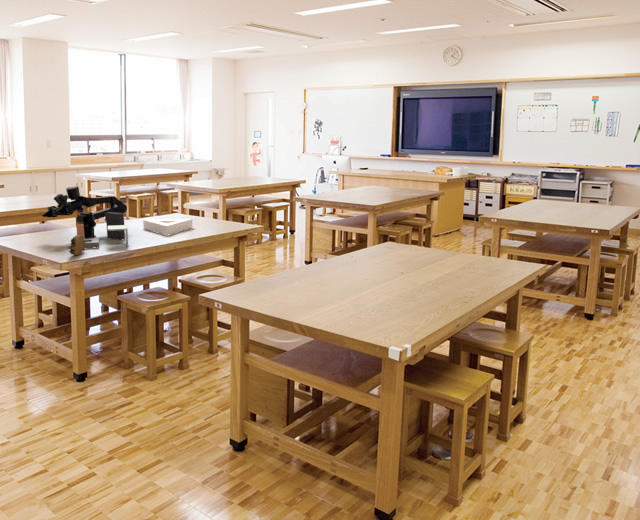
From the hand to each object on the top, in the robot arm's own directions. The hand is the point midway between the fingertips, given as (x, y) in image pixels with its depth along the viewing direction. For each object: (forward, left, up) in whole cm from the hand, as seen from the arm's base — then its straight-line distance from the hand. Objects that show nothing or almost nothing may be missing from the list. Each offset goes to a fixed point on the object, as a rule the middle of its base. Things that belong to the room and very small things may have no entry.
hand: (47, 215), depth 339 cm
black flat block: (-32, +15, -16) cm, 39 cm away
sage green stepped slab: (-22, +31, -16) cm, 41 cm away
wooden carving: (+6, +37, -16) cm, 40 cm away
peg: (-13, +10, -16) cm, 23 cm away
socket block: (-9, +22, -16) cm, 28 cm away
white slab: (-73, +16, -17) cm, 76 cm away
